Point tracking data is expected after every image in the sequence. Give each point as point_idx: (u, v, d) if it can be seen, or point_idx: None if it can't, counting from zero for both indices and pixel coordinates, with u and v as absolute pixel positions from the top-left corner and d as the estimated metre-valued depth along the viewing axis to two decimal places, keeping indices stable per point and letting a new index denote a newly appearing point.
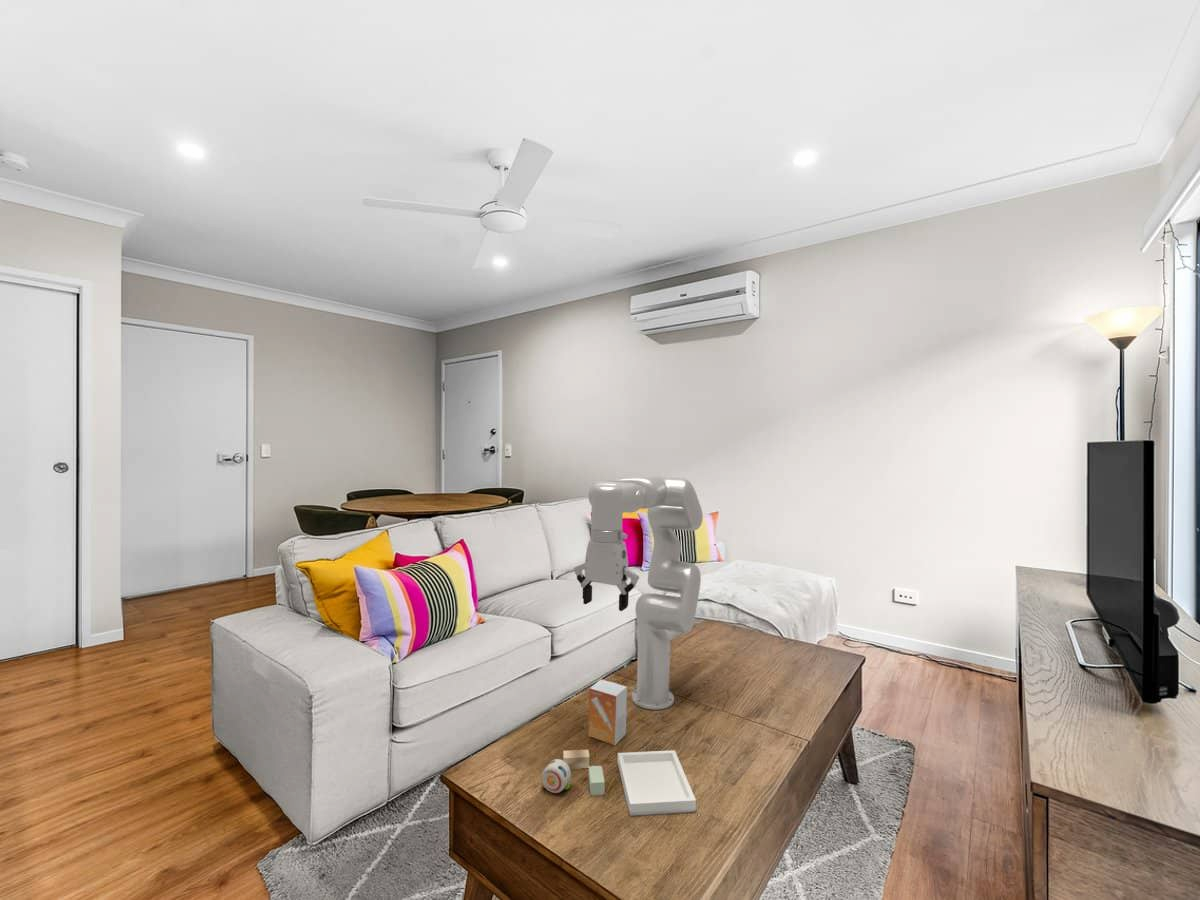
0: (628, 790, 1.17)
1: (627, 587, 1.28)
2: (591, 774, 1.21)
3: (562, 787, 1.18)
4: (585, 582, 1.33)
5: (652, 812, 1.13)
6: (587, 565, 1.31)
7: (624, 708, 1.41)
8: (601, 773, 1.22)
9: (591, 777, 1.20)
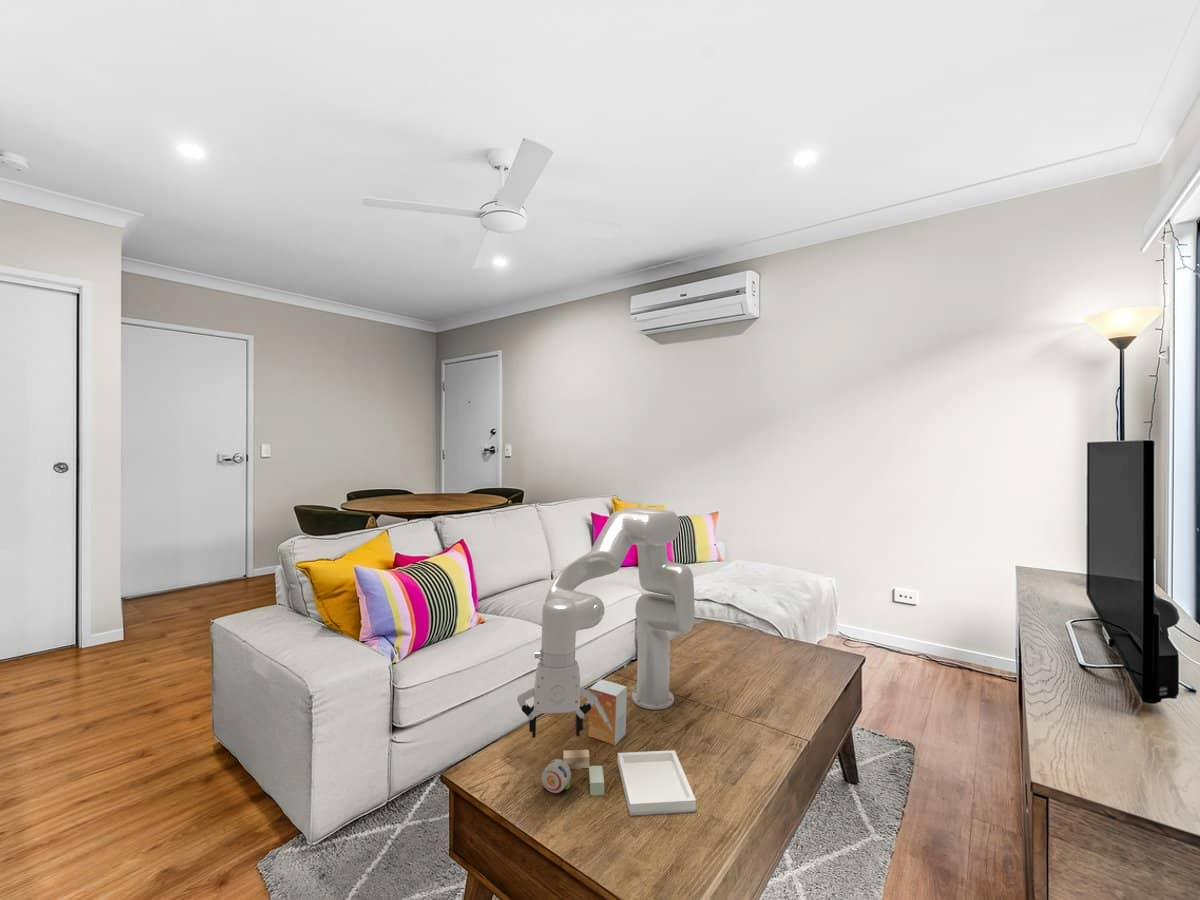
0: (628, 790, 1.17)
1: None
2: (591, 774, 1.21)
3: (562, 787, 1.18)
4: None
5: (652, 812, 1.13)
6: None
7: (624, 708, 1.41)
8: (601, 773, 1.22)
9: (591, 777, 1.20)
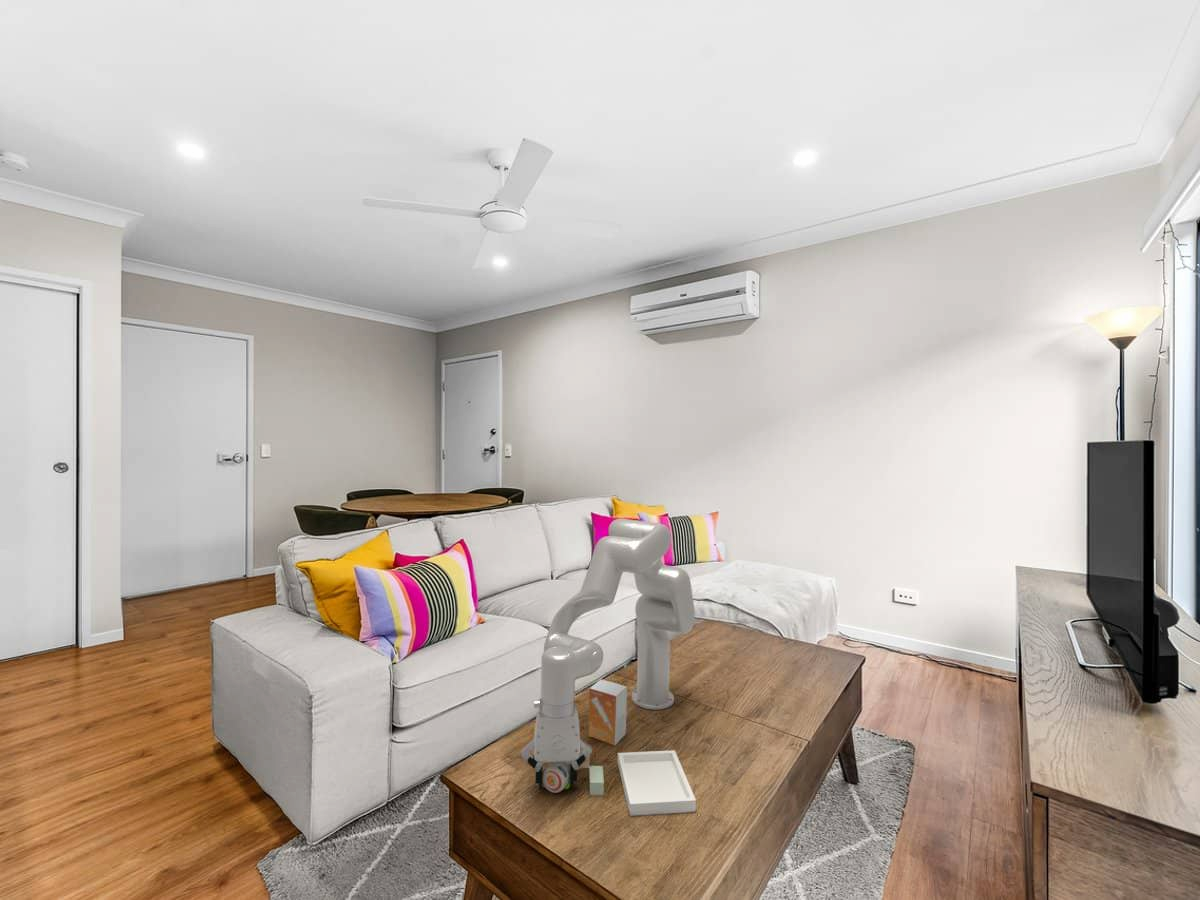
0: (628, 790, 1.17)
1: None
2: (591, 774, 1.21)
3: (562, 787, 1.18)
4: None
5: (652, 812, 1.13)
6: None
7: (624, 708, 1.41)
8: (601, 773, 1.22)
9: (591, 777, 1.20)
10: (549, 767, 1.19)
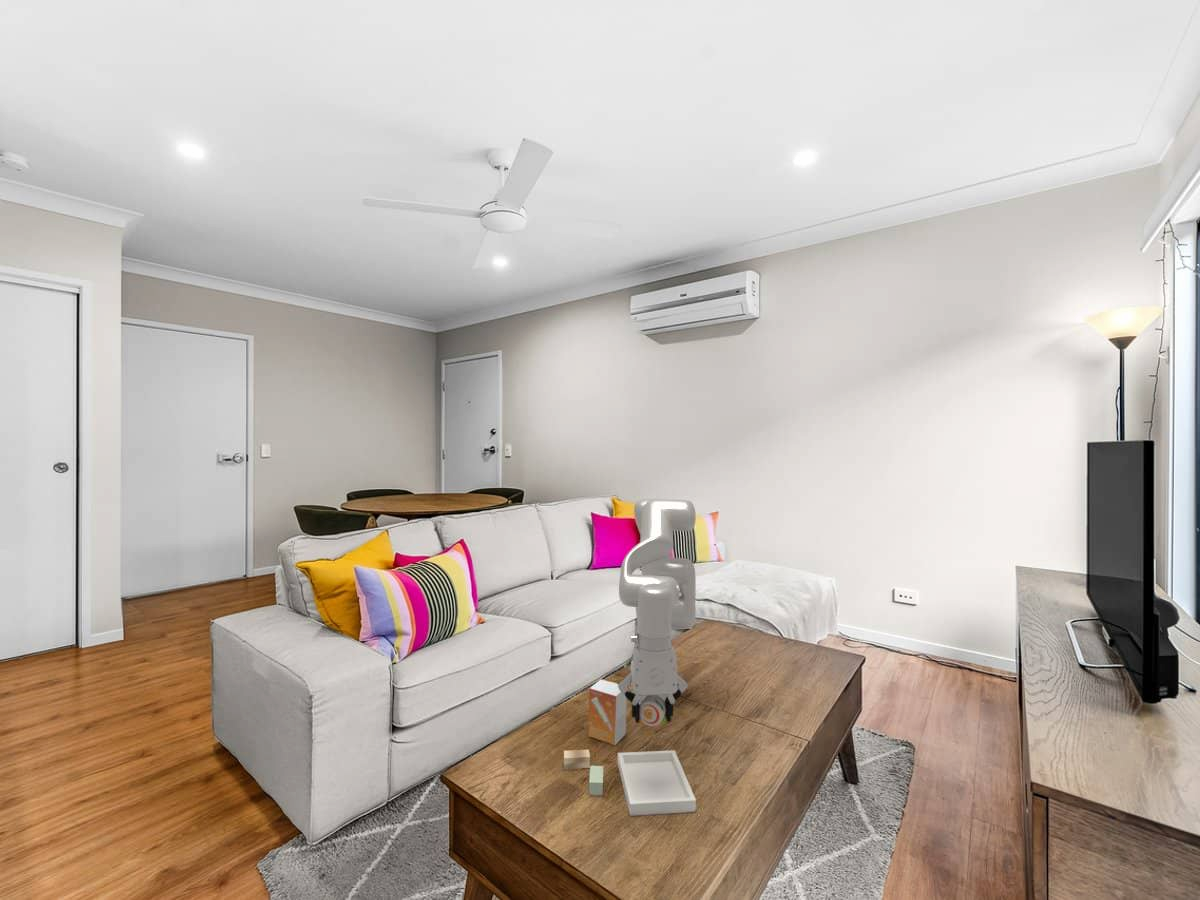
0: (628, 790, 1.17)
1: None
2: (591, 774, 1.21)
3: (660, 720, 1.19)
4: None
5: (652, 812, 1.13)
6: None
7: (624, 708, 1.41)
8: (601, 773, 1.22)
9: (590, 777, 1.20)
10: (646, 701, 1.20)
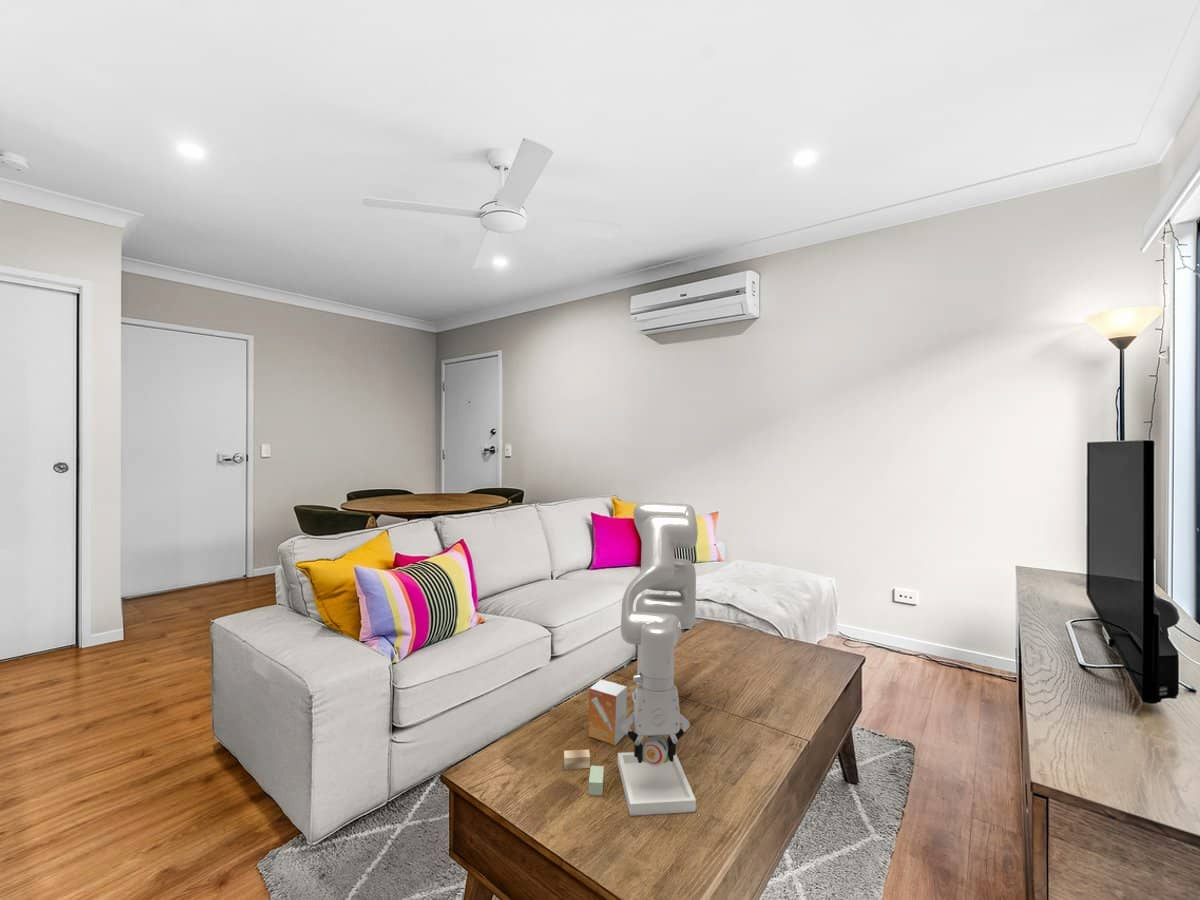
0: (628, 790, 1.17)
1: None
2: (591, 773, 1.22)
3: (663, 760, 1.19)
4: None
5: (652, 812, 1.13)
6: None
7: (624, 708, 1.41)
8: (601, 774, 1.22)
9: (590, 776, 1.20)
10: (649, 741, 1.20)
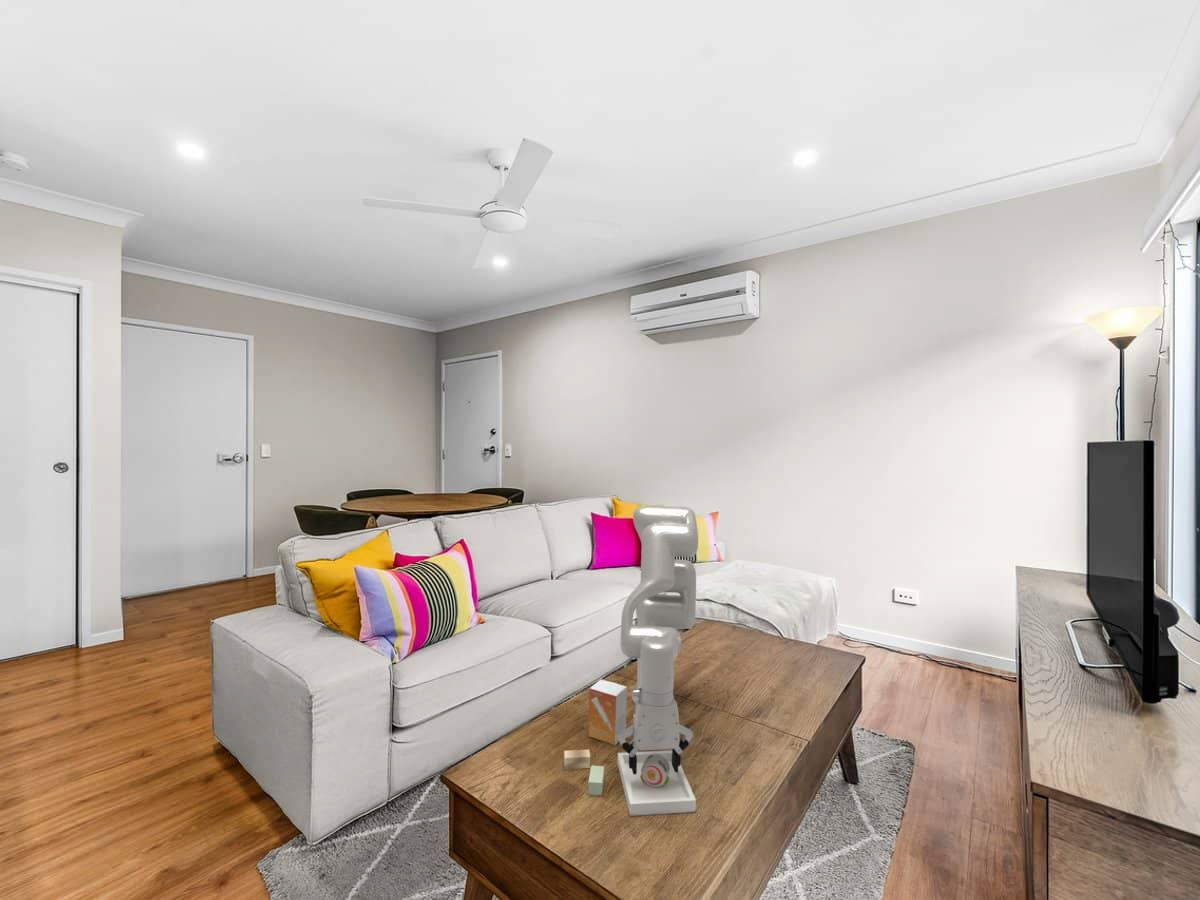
0: (628, 790, 1.17)
1: None
2: (591, 773, 1.22)
3: (663, 781, 1.20)
4: None
5: (652, 812, 1.13)
6: None
7: (624, 708, 1.41)
8: (601, 774, 1.22)
9: (590, 776, 1.21)
10: (649, 762, 1.21)
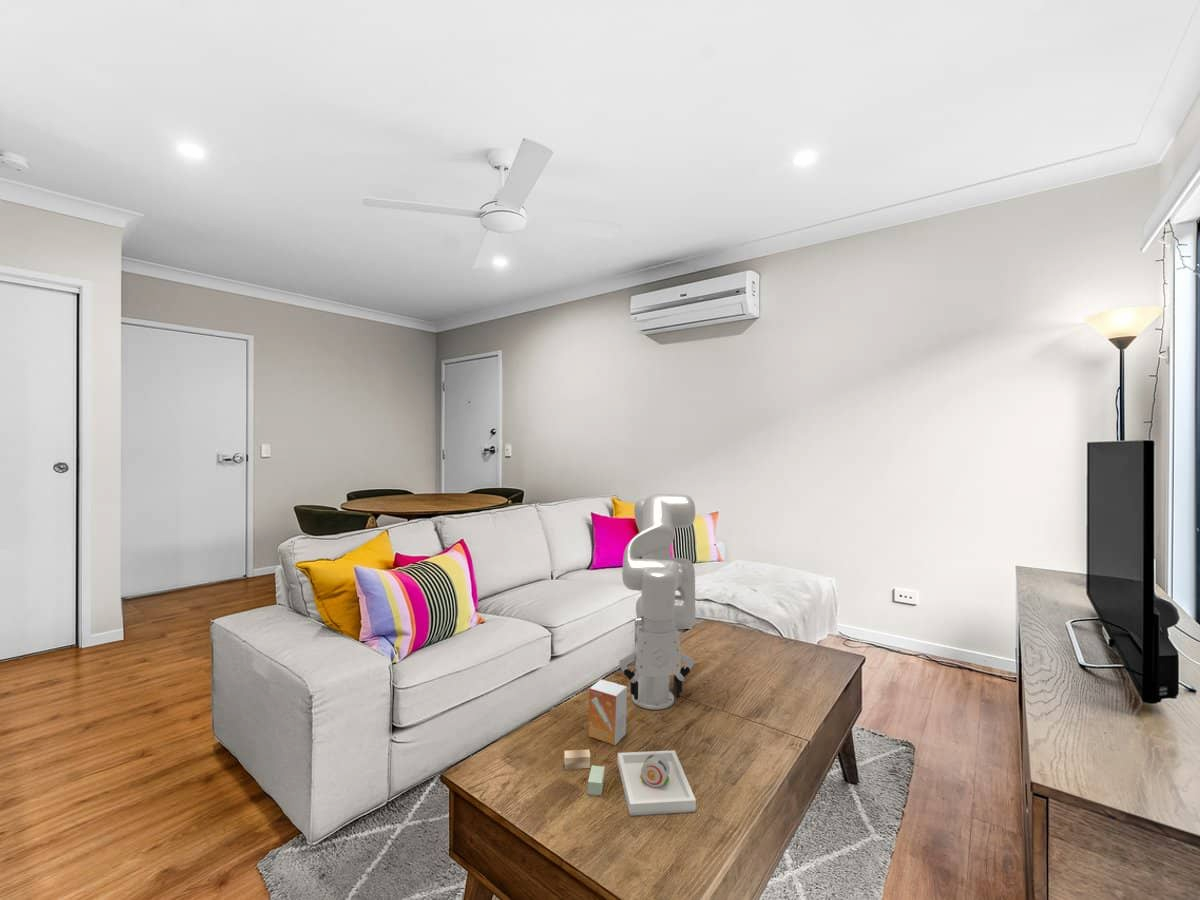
0: (628, 790, 1.17)
1: None
2: (591, 773, 1.22)
3: (663, 781, 1.20)
4: None
5: (652, 812, 1.13)
6: None
7: (624, 708, 1.41)
8: (601, 774, 1.22)
9: (590, 776, 1.21)
10: (649, 762, 1.21)
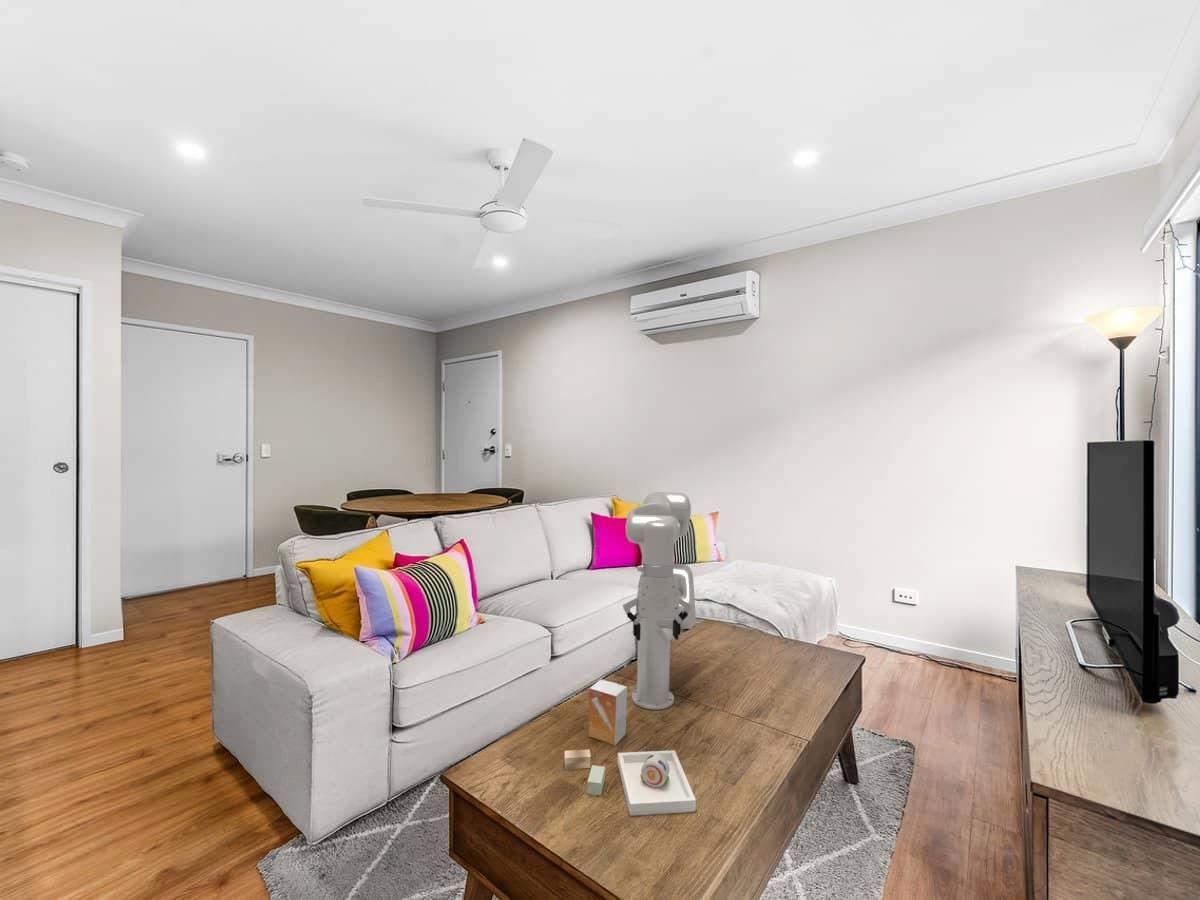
0: (628, 790, 1.17)
1: None
2: (591, 773, 1.22)
3: (663, 781, 1.20)
4: None
5: (652, 812, 1.13)
6: None
7: (624, 708, 1.41)
8: (601, 774, 1.21)
9: (590, 776, 1.21)
10: (649, 762, 1.21)
